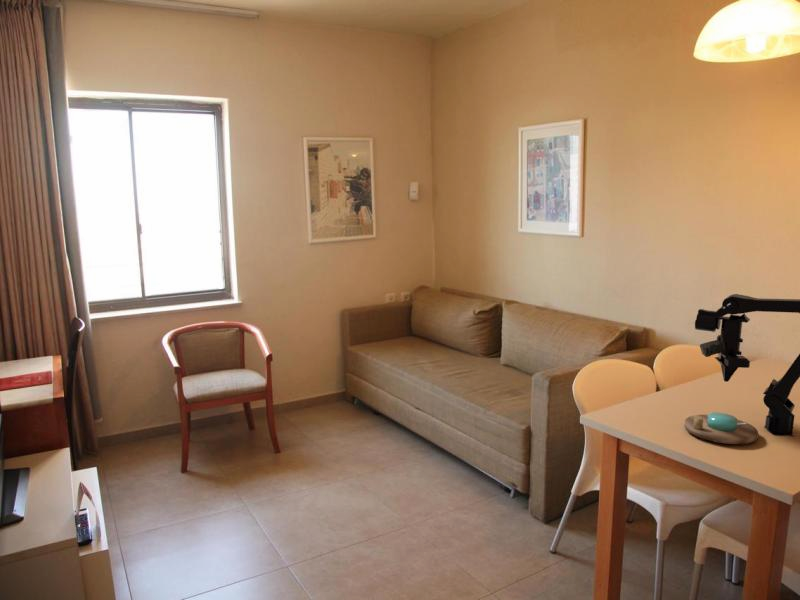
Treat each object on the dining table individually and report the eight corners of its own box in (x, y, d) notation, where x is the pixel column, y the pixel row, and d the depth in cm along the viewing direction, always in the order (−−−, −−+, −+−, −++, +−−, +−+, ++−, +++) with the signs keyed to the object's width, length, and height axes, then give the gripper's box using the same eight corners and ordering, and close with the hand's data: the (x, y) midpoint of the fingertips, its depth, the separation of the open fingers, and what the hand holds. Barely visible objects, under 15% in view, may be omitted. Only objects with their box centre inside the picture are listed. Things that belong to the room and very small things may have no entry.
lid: (723, 420, 197) (723, 411, 196) (742, 430, 189) (743, 420, 189) (701, 423, 195) (702, 413, 195) (720, 432, 187) (721, 423, 187)
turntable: (724, 416, 205) (726, 403, 204) (773, 440, 185) (775, 426, 185) (670, 421, 200) (671, 408, 199) (715, 446, 181) (716, 432, 180)
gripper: (694, 326, 210) (690, 371, 213) (713, 340, 192) (709, 389, 195) (730, 327, 208) (725, 373, 211) (752, 341, 190) (747, 391, 193)
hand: (725, 381), depth 203 cm, fingers closed
